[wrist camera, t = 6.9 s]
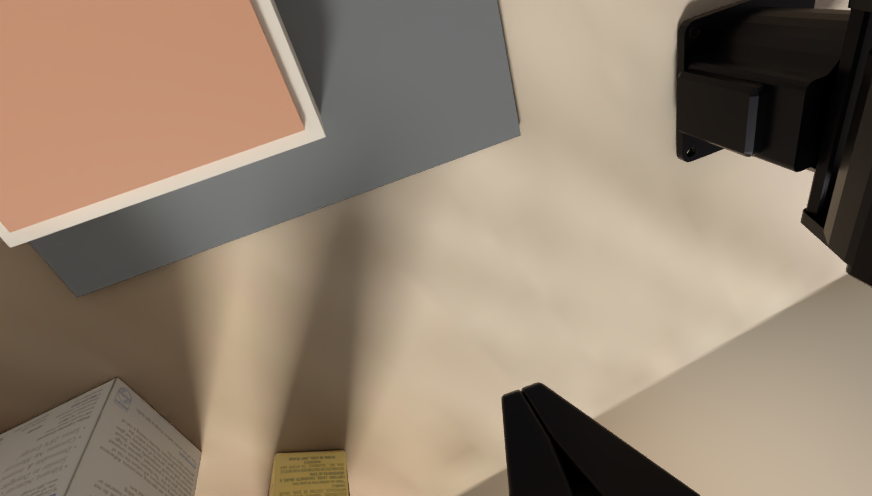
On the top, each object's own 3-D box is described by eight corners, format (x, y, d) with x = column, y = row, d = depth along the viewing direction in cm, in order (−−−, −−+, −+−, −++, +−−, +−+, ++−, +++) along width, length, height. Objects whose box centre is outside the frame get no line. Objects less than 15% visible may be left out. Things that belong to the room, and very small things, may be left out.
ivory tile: (214, -135, 11) (-232, -6, 10) (326, 139, 15) (5, 252, 14) (229, -111, 14) (-121, -8, 13) (320, 115, 18) (52, 208, 17)
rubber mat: (432, -338, 13) (436, -346, 13) (516, 132, 21) (520, 135, 20) (-298, -148, 11) (-315, -152, 11) (80, 292, 19) (76, 297, 19)
